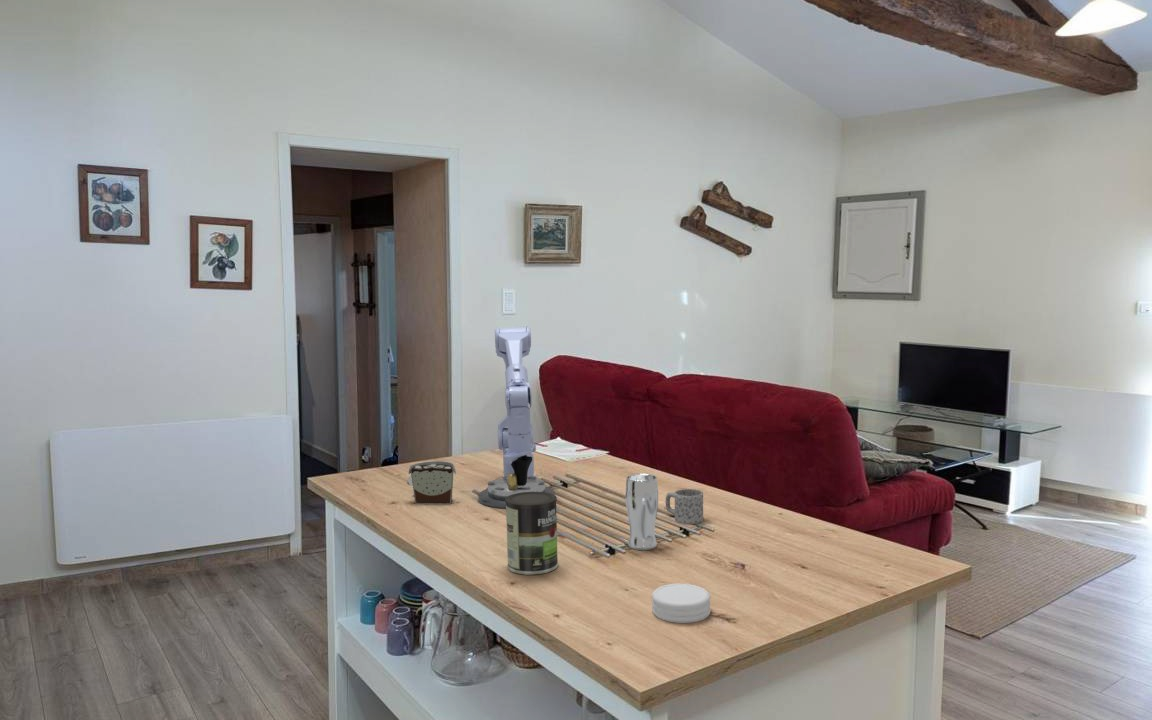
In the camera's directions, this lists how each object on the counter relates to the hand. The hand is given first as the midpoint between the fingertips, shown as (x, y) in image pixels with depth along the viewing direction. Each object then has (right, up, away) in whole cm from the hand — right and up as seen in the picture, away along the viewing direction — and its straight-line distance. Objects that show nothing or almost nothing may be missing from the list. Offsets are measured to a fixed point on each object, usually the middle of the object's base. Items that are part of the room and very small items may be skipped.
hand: (521, 484), depth 214 cm
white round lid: (+32, -12, -70) cm, 78 cm away
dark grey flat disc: (-2, -4, +6) cm, 7 cm away
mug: (+39, -6, -16) cm, 43 cm away
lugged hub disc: (-2, -3, +5) cm, 6 cm away
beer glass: (+28, -8, -35) cm, 46 cm away
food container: (-22, -5, +5) cm, 24 cm away
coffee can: (+5, -10, -46) cm, 47 cm away
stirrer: (-30, -4, +17) cm, 34 cm away
